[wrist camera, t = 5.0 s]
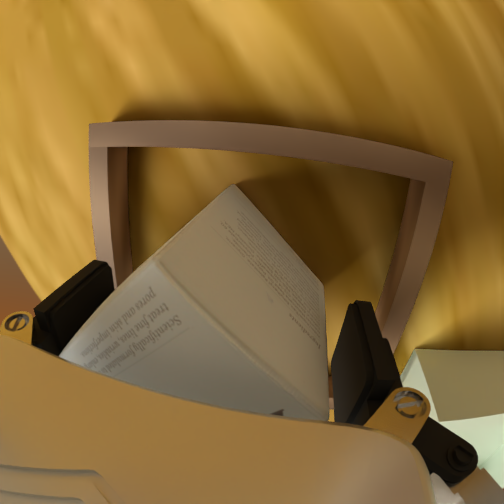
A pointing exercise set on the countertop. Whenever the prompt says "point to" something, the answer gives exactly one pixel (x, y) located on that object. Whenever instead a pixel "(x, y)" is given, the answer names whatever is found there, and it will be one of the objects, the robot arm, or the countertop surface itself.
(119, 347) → the skincare box
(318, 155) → the walnut frame
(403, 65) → the countertop surface
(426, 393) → the green bin
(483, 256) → the countertop surface
